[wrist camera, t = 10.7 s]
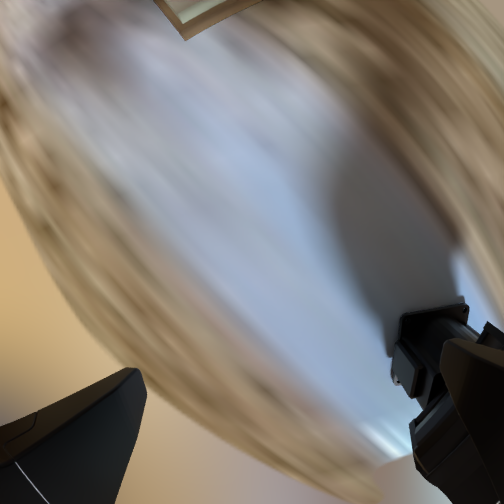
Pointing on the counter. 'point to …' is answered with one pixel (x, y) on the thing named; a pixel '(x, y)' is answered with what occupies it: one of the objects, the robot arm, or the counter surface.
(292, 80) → the counter surface
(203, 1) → the pedestal
